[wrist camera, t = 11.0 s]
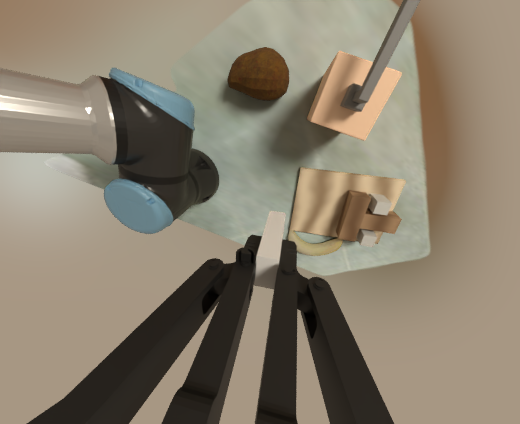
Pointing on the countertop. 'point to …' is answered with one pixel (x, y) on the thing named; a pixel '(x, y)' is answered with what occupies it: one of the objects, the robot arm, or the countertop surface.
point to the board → (334, 198)
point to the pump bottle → (360, 84)
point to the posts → (377, 206)
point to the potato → (260, 74)
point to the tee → (363, 217)
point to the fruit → (314, 245)
